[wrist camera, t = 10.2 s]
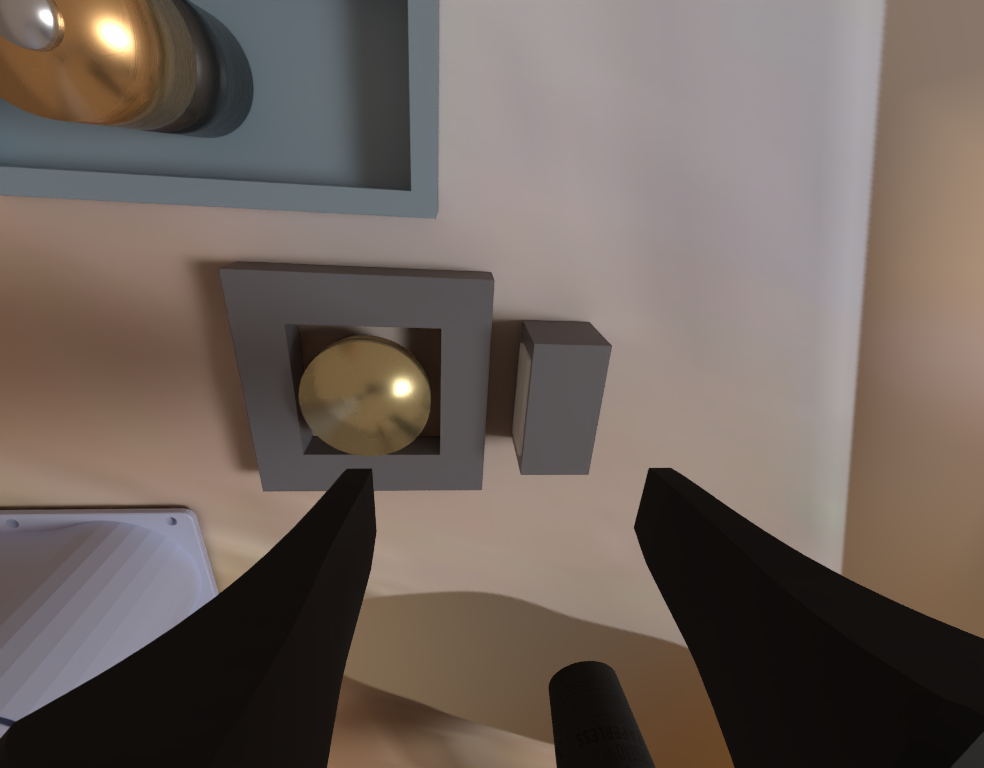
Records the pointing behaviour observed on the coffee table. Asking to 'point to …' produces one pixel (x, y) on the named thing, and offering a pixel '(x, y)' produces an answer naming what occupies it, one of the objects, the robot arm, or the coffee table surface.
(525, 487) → the coffee table surface
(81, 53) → the battery cell
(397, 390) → the disc
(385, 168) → the slate trough
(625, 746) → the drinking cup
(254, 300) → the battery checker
